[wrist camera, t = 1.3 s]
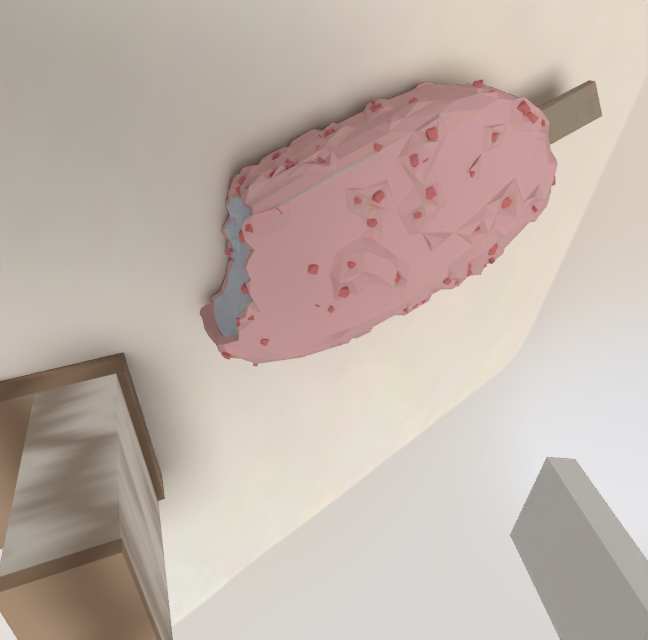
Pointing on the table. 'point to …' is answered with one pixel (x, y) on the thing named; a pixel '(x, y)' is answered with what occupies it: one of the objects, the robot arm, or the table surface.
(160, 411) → the table surface
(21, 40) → the table surface
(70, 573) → the stand
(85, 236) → the table surface
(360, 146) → the ice cream bar
